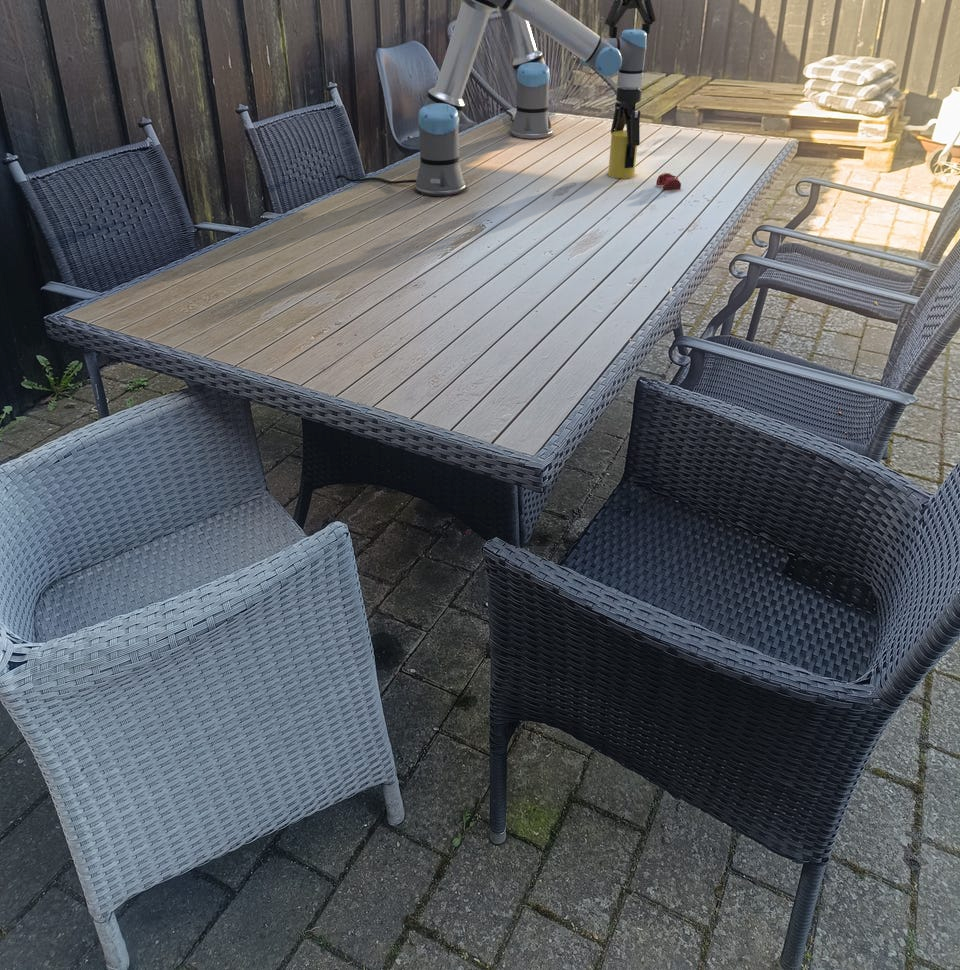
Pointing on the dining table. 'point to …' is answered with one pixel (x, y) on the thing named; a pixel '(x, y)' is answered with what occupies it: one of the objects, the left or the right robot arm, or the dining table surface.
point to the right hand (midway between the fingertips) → (628, 45)
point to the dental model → (668, 182)
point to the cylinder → (620, 156)
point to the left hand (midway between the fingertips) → (622, 163)
